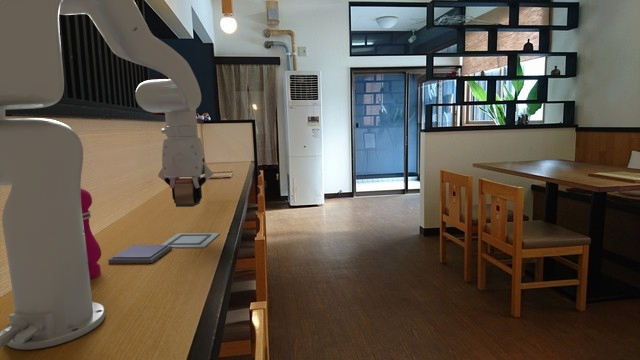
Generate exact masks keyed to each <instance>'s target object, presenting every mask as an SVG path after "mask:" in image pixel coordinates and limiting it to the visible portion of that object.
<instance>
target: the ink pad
mask: <svg viewBox="0 0 640 360" xmlns="http://www.w3.org/2000/svg"><path fill="white" fill-rule="evenodd" d="M169 250H170V251H171V250H172V248H171V245H161V244H132V245H131V246H128V247H127V248H125V249H124V250H122V251H120V252H119V253H117V254H115V255H114V256H112V257H110V258H109V259H107V262H108V264H109V265H110V264H111V265H115V264H116V265H118V264H119V263H120V264H121V263H152V264H154V261H155V260H156V261H157V260H158V258H159V259H160V258H162V257H163V256H164V255H166V254H167V253H168V252H170V251H169ZM166 252H167V253H166ZM165 253H166V254H165ZM162 255H163V256H162ZM156 261H155V262H156ZM120 264H119V265H120Z"/></svg>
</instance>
